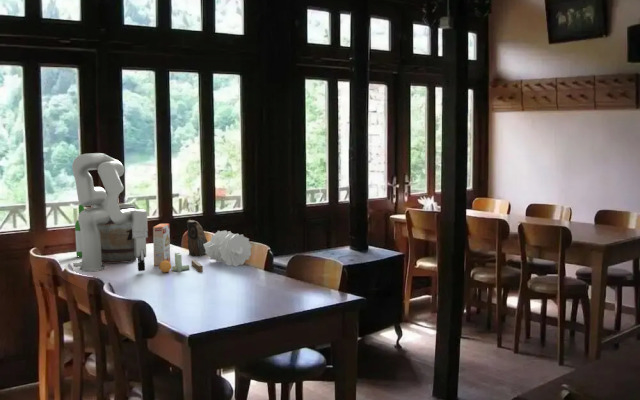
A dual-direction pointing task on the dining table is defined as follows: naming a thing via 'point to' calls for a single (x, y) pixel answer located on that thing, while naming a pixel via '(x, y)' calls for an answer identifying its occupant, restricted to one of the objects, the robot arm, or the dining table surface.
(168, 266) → the ball
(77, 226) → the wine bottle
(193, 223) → the dark brown tall piece
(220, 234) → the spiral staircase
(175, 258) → the pin
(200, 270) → the brown wooden bar
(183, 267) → the front pin
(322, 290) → the dining table surface
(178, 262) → the pin
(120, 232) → the barrel
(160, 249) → the cracker box
